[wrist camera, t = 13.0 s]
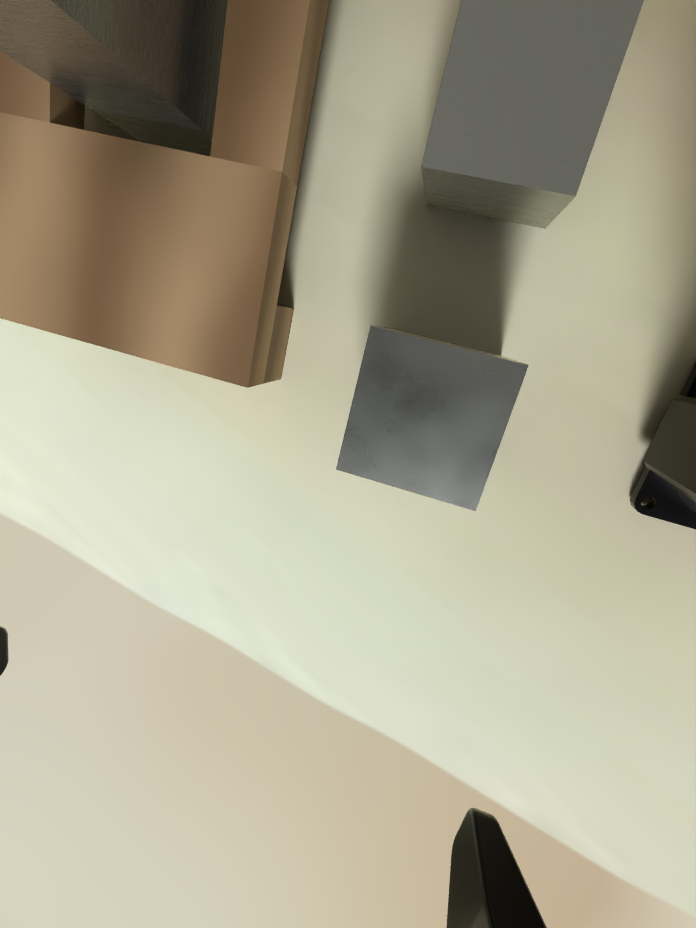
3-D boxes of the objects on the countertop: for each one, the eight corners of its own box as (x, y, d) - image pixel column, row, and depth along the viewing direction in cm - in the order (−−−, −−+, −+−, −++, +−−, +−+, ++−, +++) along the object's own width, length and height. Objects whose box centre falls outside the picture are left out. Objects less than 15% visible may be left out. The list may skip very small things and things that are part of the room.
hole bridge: (402, -283, 13) (389, -492, 10) (280, 378, 19) (247, 387, 16) (78, -305, 14) (-30, -496, 11) (64, 319, 21) (-7, 316, 17)
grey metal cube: (592, 84, 15) (645, -4, 11) (544, 229, 16) (575, 196, 12) (461, 63, 15) (468, -28, 11) (426, 204, 16) (421, 166, 13)
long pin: (258, 24, 16) (48, -331, 7) (240, 162, 17) (46, -5, 9) (150, 6, 16) (-160, -343, 8) (141, 141, 18) (-132, -35, 9)
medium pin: (500, 355, 17) (528, 365, 12) (465, 458, 19) (475, 510, 13) (393, 328, 18) (370, 325, 12) (367, 430, 19) (335, 469, 14)
